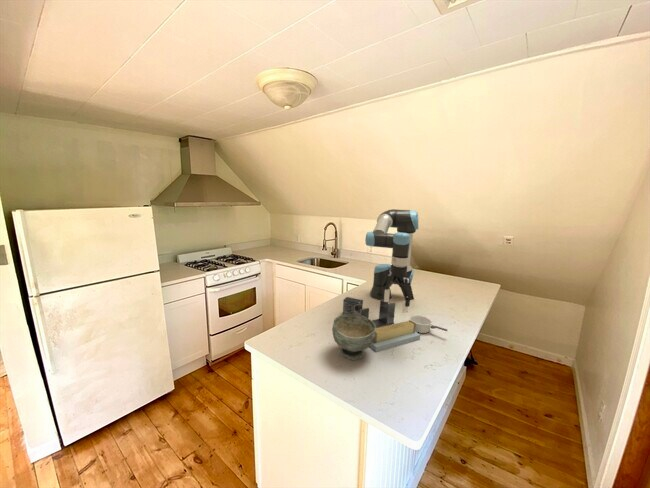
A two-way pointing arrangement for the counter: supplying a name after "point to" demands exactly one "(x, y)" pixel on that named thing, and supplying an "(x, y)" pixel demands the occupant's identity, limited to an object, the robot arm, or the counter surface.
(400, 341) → the board
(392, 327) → the rail
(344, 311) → the small box
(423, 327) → the saucepan
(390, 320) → the grey metal bracket
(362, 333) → the bowl
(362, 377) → the counter surface
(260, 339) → the counter surface
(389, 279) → the robot arm
